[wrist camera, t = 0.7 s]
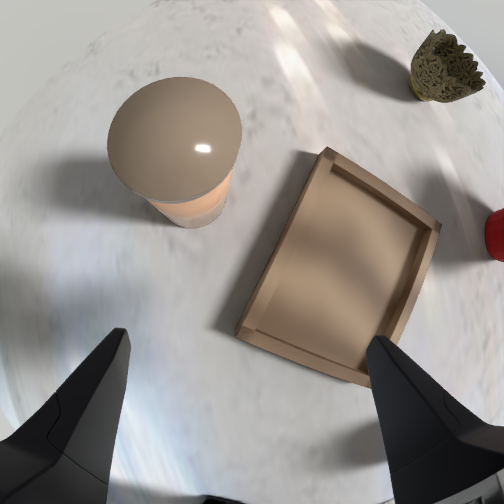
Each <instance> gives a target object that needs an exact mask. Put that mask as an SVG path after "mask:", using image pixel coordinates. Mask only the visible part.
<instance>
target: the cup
mask: <svg viewBox="0 0 504 504" xmlns="http://www.w3.org/2000/svg"><path fill="white" fill-rule="evenodd" d="M465 48H466V46H465V45H460V46H458V43H457V39H456V36H455V35H452V34H446V31H445V30H440V32H438V33H437V34H435V33H434V30H432V31H431V33H430V34H429V35H428V37H427V38H426V39H425V41H424V42H423V43H422V45H421V46H420V47H419V49H418V50H417V52H416V53H415V55H414V57H413V59H412V62H411V73H412V75H411V76H410V78H409V86H410V89H411V91H412V92H413V93H414V95H415V96H416V97H418V98H419V99H420V100H423V101H432V100H434V101H437V102H442V103H448V102H453V101H456V100H459V99H461V98H464V97H466V96H469V95H471V94H474V93H476V92H477V91H480V90H482V89H483V87H482V86H483V85H485V83H486V82H485V81H484V80H483V79H481V78H480V77H481V76H482V75H483V72H479V71H476V70H477V66H478V62H477V61H473V54H470V53H463V52H464V50H465Z"/></svg>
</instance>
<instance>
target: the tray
mask: <svg viewBox="0 0 504 504" xmlns="http://www.w3.org/2000/svg"><path fill="white" fill-rule="evenodd" d="M441 226H442V225H441V224H440V223H439V222H438V221H436V220H435V219H434V218H433V217H431V216H430V215H429V214H428V213H426V212H425V211H424V210H422V209H421V208H420V207H418V206H417V205H416V204H414V203H413V202H412V201H410V200H409V199H407V198H406V197H405V196H403V195H402V194H400V193H399V192H398V191H396V190H395V189H393V188H392V187H390V186H389V185H388V184H386V183H385V182H383V181H382V180H380V179H379V178H377V177H376V176H374V175H373V174H371V173H370V172H368V171H366V170H365V169H363V168H362V167H360V166H359V165H357V164H355V163H354V162H352V161H351V160H349V159H347V158H346V157H344V156H342V155H341V154H339V153H337V152H336V151H334V150H332V149H331V148H329V147H326V148H325V149H324V150H323V151H322V152H321V153H320V154H319V155H318V157H317V159H316V162H315V164H314V166H313V168H312V170H311V172H310V175H309V177H308V179H307V181H306V183H305V185H304V188H303V190H302V192H301V194H300V196H299V198H298V200H297V202H296V205H295V207H294V209H293V211H292V213H291V215H290V217H289V219H288V221H287V224H286V226H285V228H284V230H283V232H282V234H281V236H280V238H279V240H278V242H277V245H276V247H275V249H274V251H273V253H272V255H271V257H270V259H269V261H268V263H267V265H266V267H265V269H264V272H263V274H262V276H261V278H260V280H259V282H258V284H257V286H256V288H255V290H254V292H253V294H252V296H251V298H250V300H249V302H248V304H247V306H246V308H245V310H244V312H243V314H242V316H241V318H240V320H239V322H238V324H237V326H236V328H235V330H234V331H235V335H236V338H239V339H241V340H243V341H246V342H248V343H250V344H253V345H255V346H257V347H260V348H262V349H264V350H267V351H269V352H272V353H274V354H276V355H279V356H281V357H284V358H286V359H289V360H291V361H294V362H297V363H299V364H302V365H304V366H307V367H310V368H312V369H315V370H318V371H320V372H323V373H326V374H329V375H332V376H334V377H337V378H340V379H343V380H346V381H349V382H352V383H355V384H358V385H361V386H364V387H367V388H370V389H371V384H370V377H369V371H368V364H367V358H366V349H367V347H368V345H369V343H370V342H371V340H372V338H373V337H374V336H375V335H385V336H386V337H388V338H389V339H390V340H391V341H392V342H393V343H394V344H395V345H397V344H398V342H399V339H400V337H401V335H402V333H403V331H404V329H405V326H406V324H407V322H408V319H409V317H410V315H411V312H412V310H413V308H414V305H415V303H416V300H417V298H418V295H419V292H420V290H421V287H422V285H423V282H424V279H425V276H426V273H427V271H428V268H429V265H430V262H431V259H432V256H433V253H434V250H435V246H436V243H437V240H438V236H439V233H440V229H441Z"/></svg>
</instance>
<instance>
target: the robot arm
mask: <svg viewBox="0 0 504 504" xmlns="http://www.w3.org/2000/svg"><path fill="white" fill-rule="evenodd" d="M130 351H131V344H130V340H129V336H128V332H127V330H126V329H125V328H114V329H113V330H112V331H111V332H110V333H109V334H108V335H107V336H106V337H105V338H104V339H103V340H102V341H101V343H100V344H99V345H98V346H97V347H96V348H95V349H94V350H93V351H92V352H91V353H90V354H89V355H88V356H87V357H86V359H85V360H84V361H83V362H82V363H81V364H80V365H79V366H78V367H77V368H76V369H75V370H74V372H73V373H72V374H71V375H70V376H69V377H68V378H67V379H66V380H65V381H64V383H63V384H62V385H61V386H60V387H59V388H58V389H57V390H56V392H55V393H54V394H53V395H52V396H51V397H50V398H49V399H48V400H47V401H46V402H45V404H44V405H43V406H42V407H41V408H40V409H39V410H38V411H37V412H36V413H35V414H34V415H33V416H31V417H30V418H29V419H28V420H27V421H26V422H25V423H24V424H23V425H22V426H21V427H19V428H18V429H17V430H16V431H15V432H14V433H13V434H12V435H11V436H9V437H8V438H6V439H4V440H2V441H0V504H106V501H107V492H108V486H107V485H108V484H109V476H110V469H111V463H112V457H113V451H114V445H115V439H116V434H117V429H118V423H119V418H120V414H121V409H122V404H123V399H124V395H125V390H126V384H127V375H128V366H129V358H130ZM366 358H367V364H368V371H369V377H370V384H371V389H372V393H373V397H374V401H375V405H376V409H377V414H378V418H379V422H380V427H381V431H382V436H383V440H384V445H385V450H386V455H387V460H388V465H389V470H390V474H391V475H390V477H391V482H392V488H393V494H394V500H395V504H504V426H494V425H490V424H487V423H485V422H484V421H482V420H481V419H480V418H479V417H477V416H476V415H475V414H473V413H472V412H471V411H470V410H468V409H467V408H466V407H464V406H463V405H462V404H461V403H460V402H458V401H457V400H456V399H455V398H454V397H453V396H451V395H450V394H449V393H448V392H447V391H446V390H445V389H443V387H442V386H441V385H439V384H438V383H437V382H436V381H435V380H434V379H433V378H432V377H431V376H430V375H429V374H428V373H426V372H425V371H424V370H423V369H422V368H421V367H420V366H419V365H418V364H417V363H415V362H414V361H413V360H412V359H411V358H410V357H409V356H408V355H407V354H405V353H404V352H403V351H402V350H401V349H400V348H399V347H398V346H397V345H395V344H394V343H393V342H392V341H391V340H390V339H389V338H388V337H386V336H385V335H375V336H374V337H373V338H372V340H371V342H370V343H369V345H368V347H367V349H366ZM202 504H242V503H237V502H233V501H229V500H224V499H220V498H216V497H213V496H208V497H206V498H205V499H204V501H203V502H202Z"/></svg>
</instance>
